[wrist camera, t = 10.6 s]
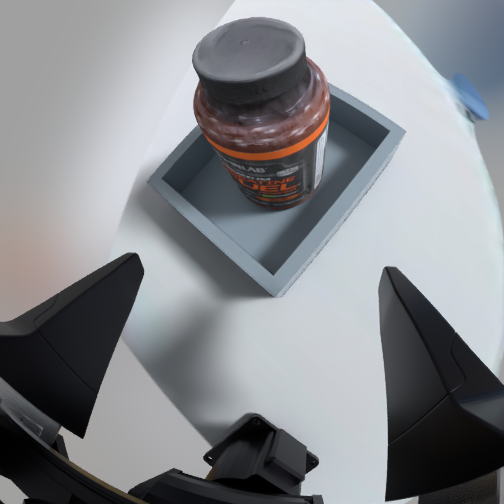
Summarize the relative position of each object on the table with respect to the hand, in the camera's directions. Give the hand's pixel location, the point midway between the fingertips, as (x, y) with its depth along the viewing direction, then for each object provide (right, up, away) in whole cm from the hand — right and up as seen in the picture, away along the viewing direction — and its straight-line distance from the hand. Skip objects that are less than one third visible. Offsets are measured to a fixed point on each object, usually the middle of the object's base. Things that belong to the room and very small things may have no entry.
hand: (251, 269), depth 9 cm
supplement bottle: (+2, +6, +9) cm, 11 cm away
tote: (+2, +6, +10) cm, 12 cm away
